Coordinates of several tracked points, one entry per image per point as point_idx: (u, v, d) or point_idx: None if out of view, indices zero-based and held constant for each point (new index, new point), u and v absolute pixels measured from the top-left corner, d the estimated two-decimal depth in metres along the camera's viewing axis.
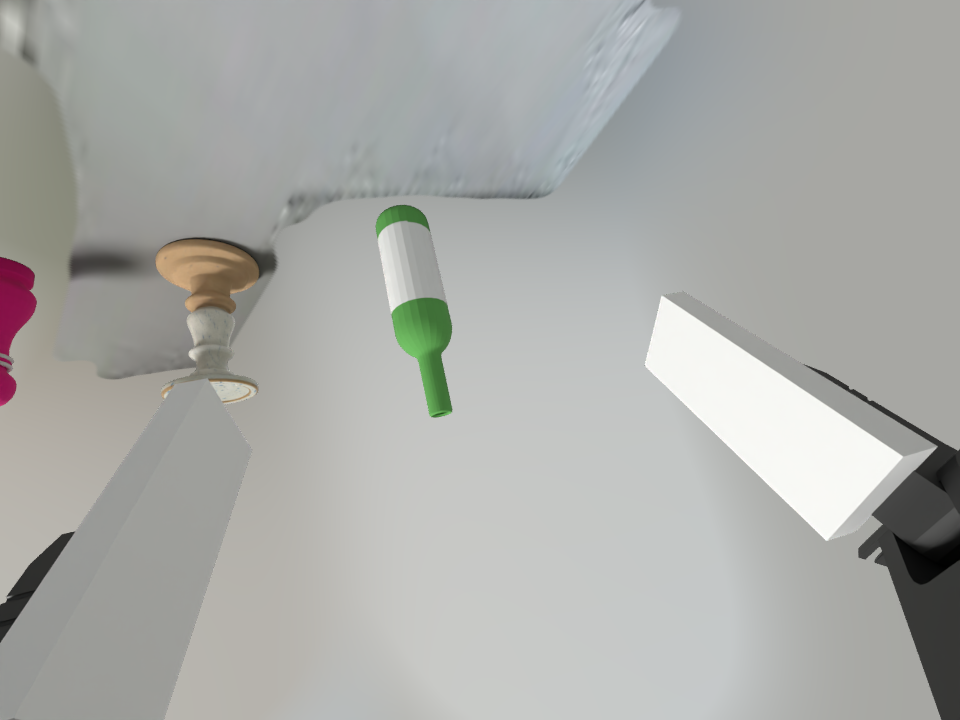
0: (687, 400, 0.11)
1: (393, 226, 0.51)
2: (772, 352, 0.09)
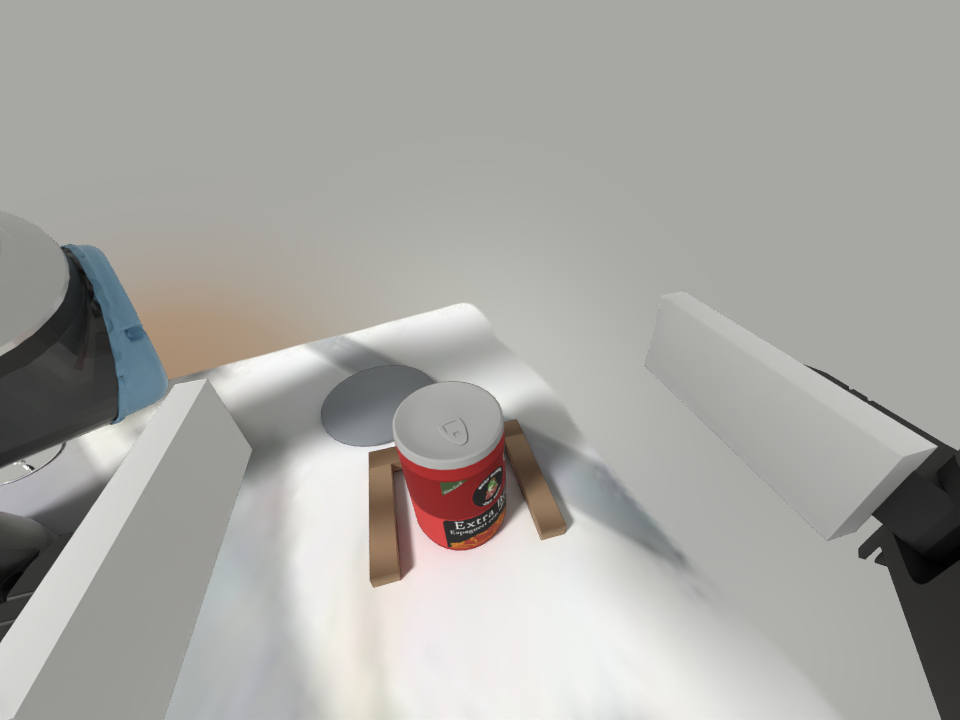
0: (687, 400, 0.11)
1: None
2: (771, 352, 0.09)
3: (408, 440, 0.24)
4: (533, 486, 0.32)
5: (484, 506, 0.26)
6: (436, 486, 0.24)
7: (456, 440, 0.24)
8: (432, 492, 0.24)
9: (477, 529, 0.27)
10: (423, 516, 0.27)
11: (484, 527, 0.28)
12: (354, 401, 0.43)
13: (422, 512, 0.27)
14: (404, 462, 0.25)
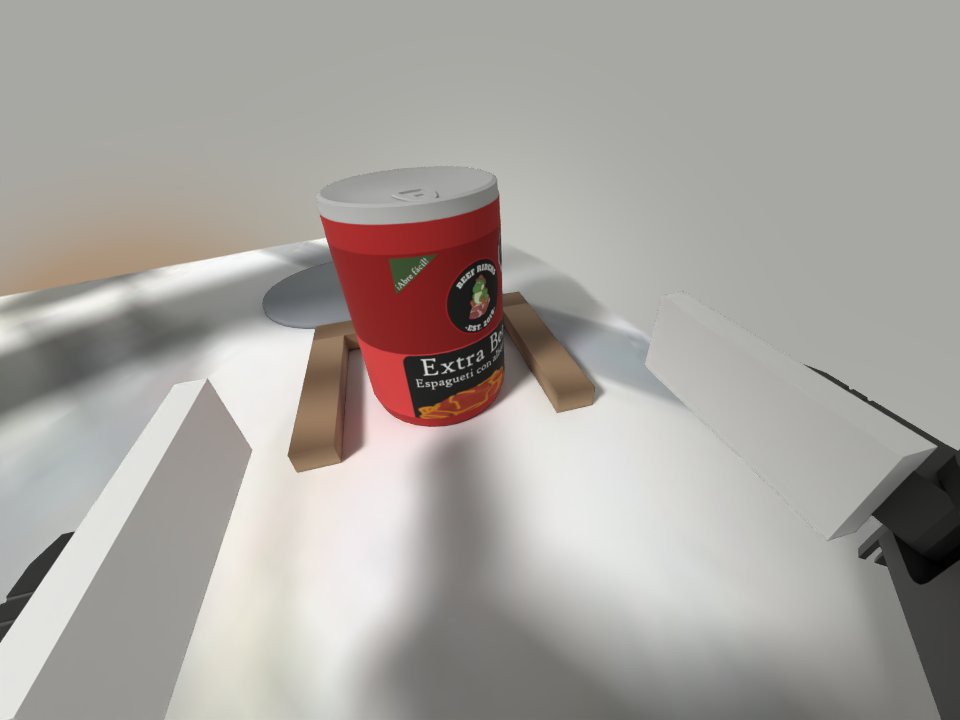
0: (687, 400, 0.11)
1: None
2: (772, 351, 0.09)
3: (338, 200, 0.15)
4: (543, 350, 0.22)
5: (468, 333, 0.16)
6: (383, 271, 0.14)
7: None
8: (380, 290, 0.15)
9: (458, 380, 0.17)
10: (375, 361, 0.18)
11: (470, 380, 0.18)
12: (308, 287, 0.33)
13: (372, 353, 0.17)
14: (333, 241, 0.15)
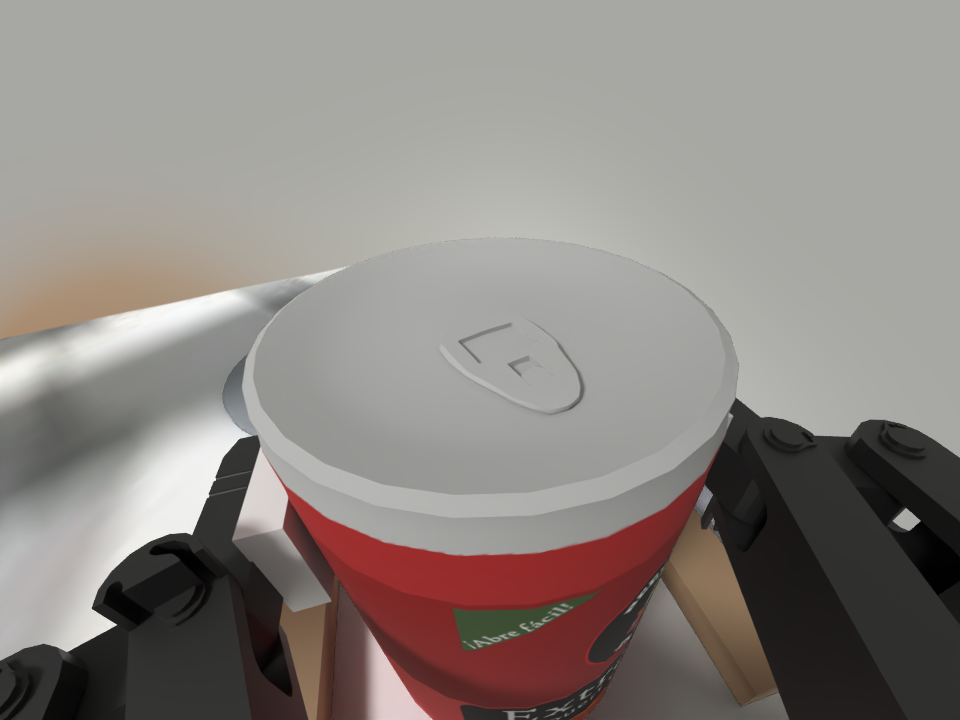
0: None
1: None
2: None
3: (302, 392, 0.05)
4: (680, 538, 0.13)
5: (616, 653, 0.07)
6: (433, 618, 0.05)
7: (526, 393, 0.05)
8: (418, 636, 0.05)
9: (573, 710, 0.08)
10: (393, 665, 0.08)
11: (595, 696, 0.08)
12: None
13: (389, 656, 0.08)
14: (288, 495, 0.05)
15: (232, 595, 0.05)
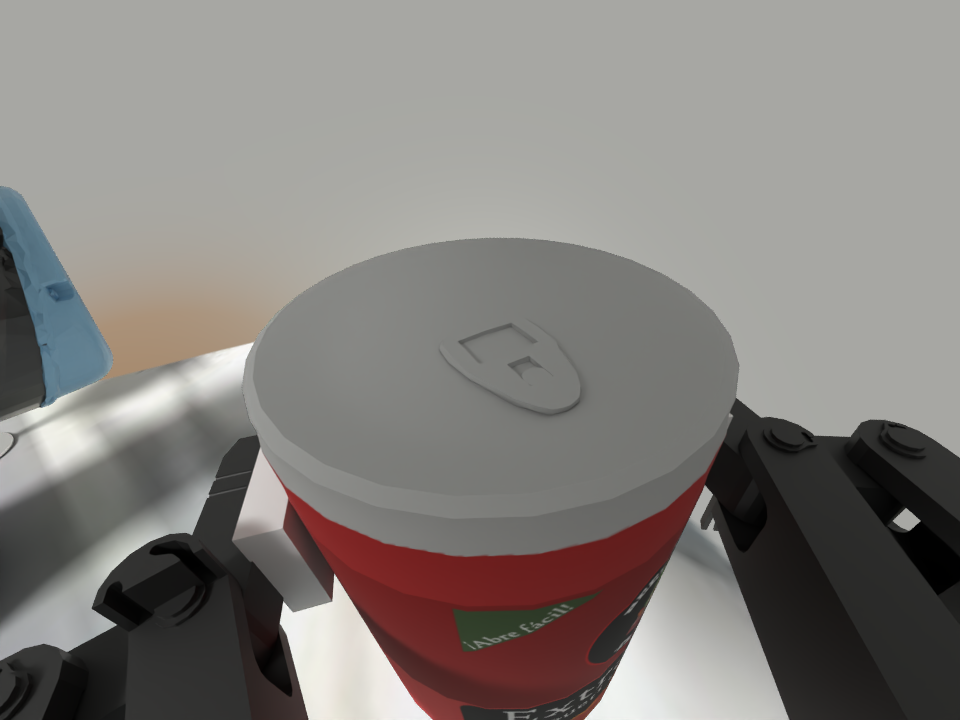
0: None
1: None
2: None
3: (302, 393, 0.05)
4: None
5: (616, 653, 0.07)
6: (433, 619, 0.05)
7: (526, 394, 0.05)
8: (417, 636, 0.05)
9: (574, 711, 0.08)
10: (393, 665, 0.08)
11: (595, 696, 0.08)
12: None
13: (389, 656, 0.08)
14: (288, 496, 0.05)
15: (232, 595, 0.05)
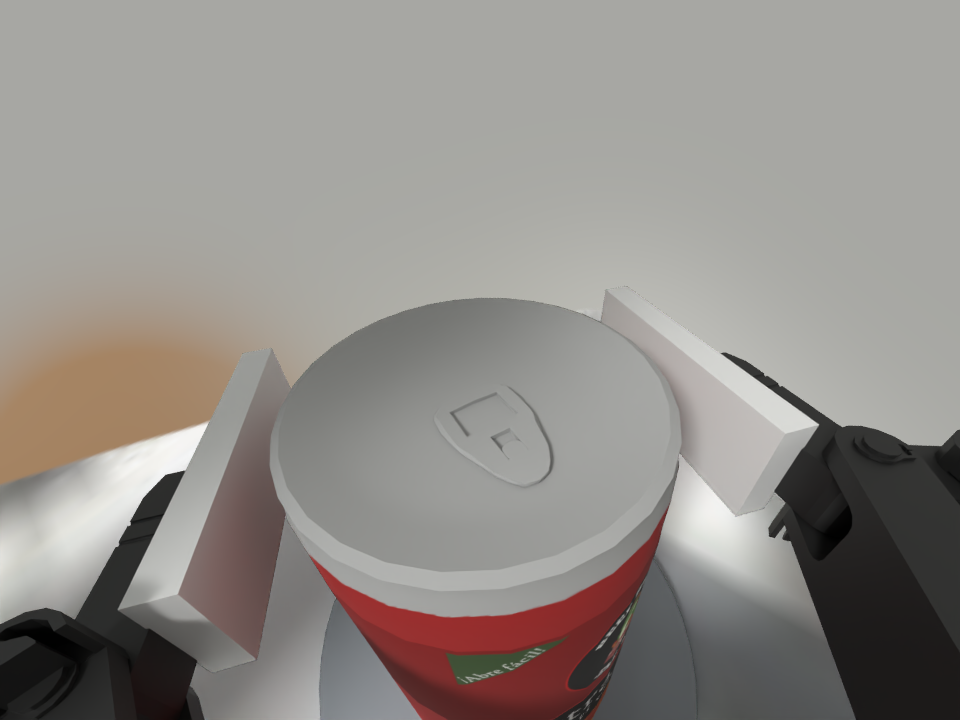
0: None
1: None
2: (693, 341, 0.09)
3: (319, 469, 0.06)
4: None
5: (597, 679, 0.08)
6: (430, 659, 0.06)
7: (505, 465, 0.06)
8: (419, 670, 0.06)
9: None
10: (401, 690, 0.09)
11: (584, 716, 0.09)
12: None
13: (397, 682, 0.09)
14: None
15: (112, 669, 0.05)
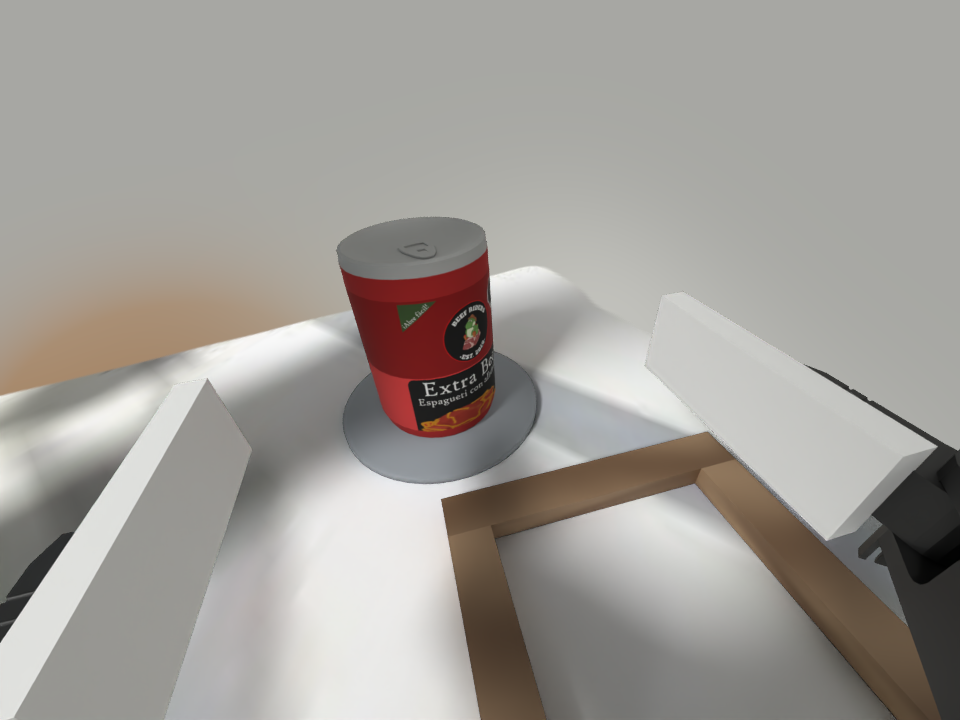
0: (687, 400, 0.11)
1: None
2: (772, 352, 0.09)
3: (355, 256, 0.18)
4: (833, 587, 0.14)
5: (462, 361, 0.20)
6: (392, 314, 0.17)
7: (420, 256, 0.18)
8: (389, 329, 0.18)
9: (454, 399, 0.21)
10: (384, 384, 0.21)
11: (465, 399, 0.21)
12: None
13: (382, 377, 0.21)
14: (350, 288, 0.18)
15: None
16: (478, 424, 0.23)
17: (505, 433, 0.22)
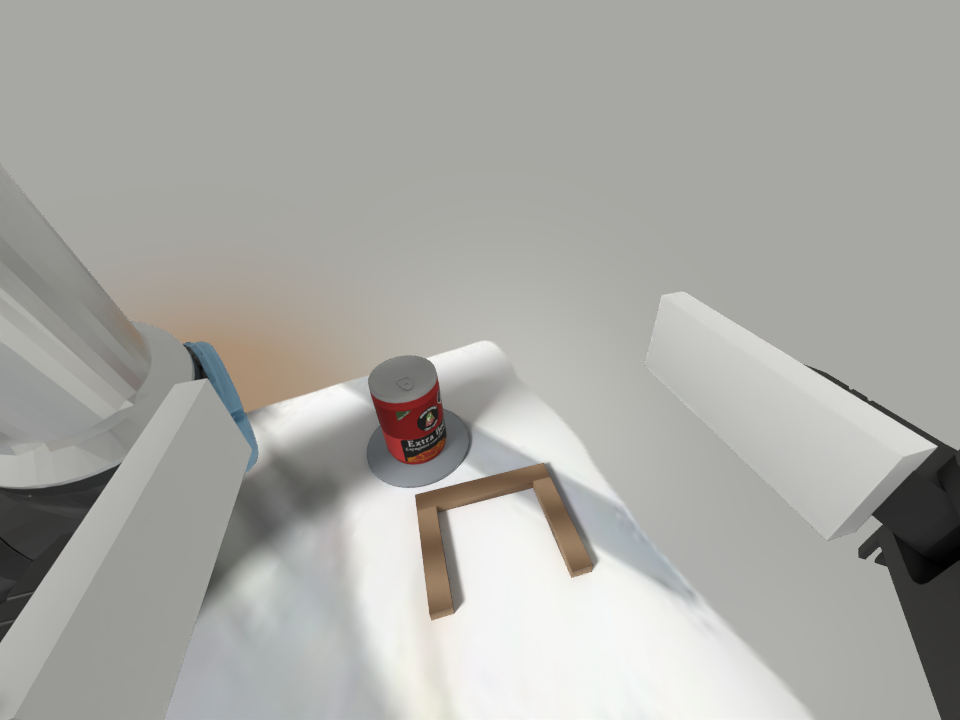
0: (687, 400, 0.11)
1: None
2: (772, 352, 0.09)
3: (377, 388, 0.40)
4: (562, 528, 0.37)
5: (425, 431, 0.42)
6: (393, 414, 0.40)
7: (405, 388, 0.40)
8: (392, 419, 0.41)
9: (422, 447, 0.43)
10: (389, 439, 0.44)
11: (428, 447, 0.44)
12: None
13: (388, 436, 0.43)
14: (375, 401, 0.41)
15: None
16: (436, 457, 0.46)
17: (449, 462, 0.45)
